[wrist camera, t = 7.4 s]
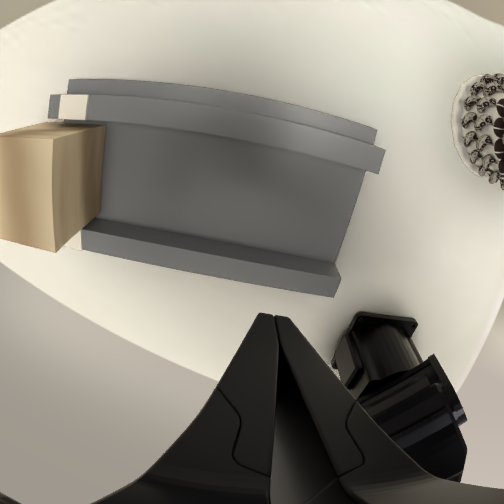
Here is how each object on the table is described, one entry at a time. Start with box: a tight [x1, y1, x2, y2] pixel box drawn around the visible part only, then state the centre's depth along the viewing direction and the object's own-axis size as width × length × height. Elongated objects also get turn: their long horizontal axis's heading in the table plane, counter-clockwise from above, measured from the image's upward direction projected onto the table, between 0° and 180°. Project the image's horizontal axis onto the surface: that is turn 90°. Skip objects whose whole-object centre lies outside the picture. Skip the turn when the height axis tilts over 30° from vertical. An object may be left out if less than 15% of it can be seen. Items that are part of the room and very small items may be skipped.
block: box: [0, 122, 106, 253], centre depth 15 cm, size 5×6×6 cm
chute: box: [48, 79, 385, 298], centre depth 18 cm, size 20×12×3 cm, turn 78°
